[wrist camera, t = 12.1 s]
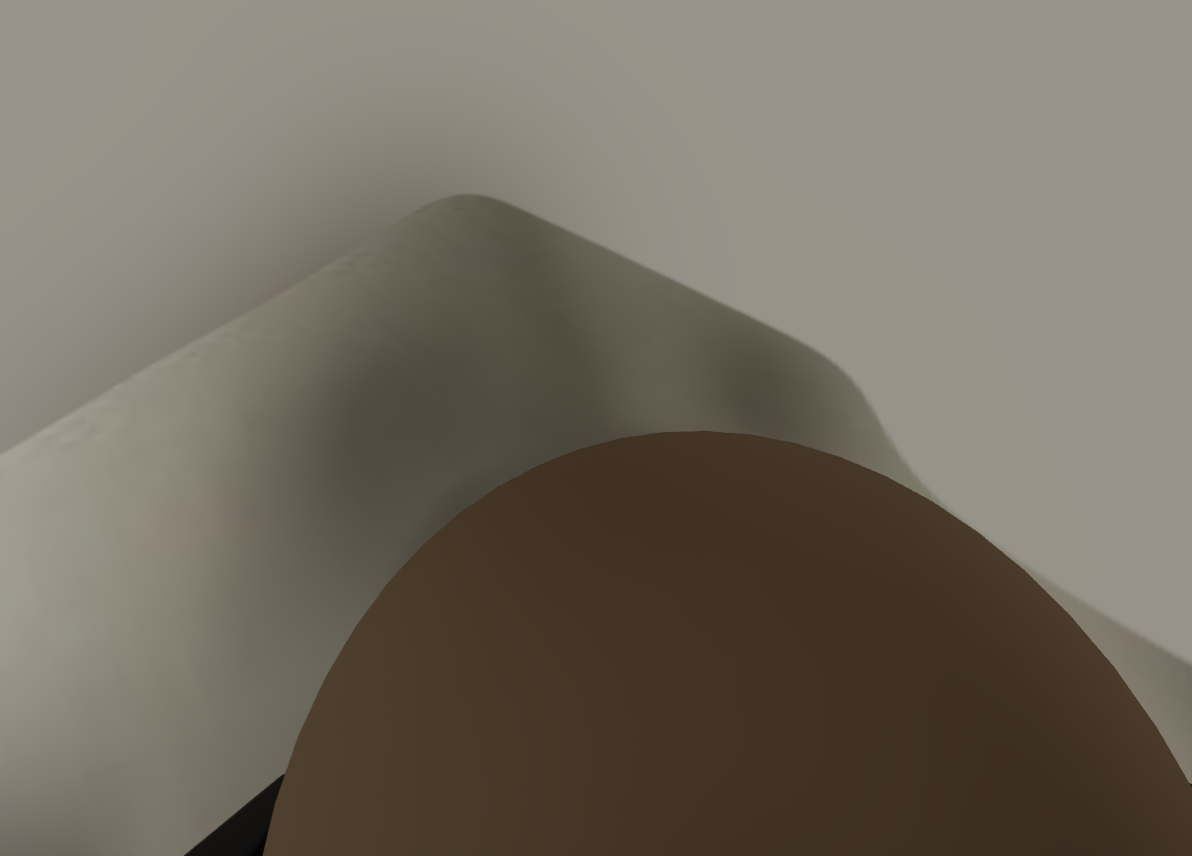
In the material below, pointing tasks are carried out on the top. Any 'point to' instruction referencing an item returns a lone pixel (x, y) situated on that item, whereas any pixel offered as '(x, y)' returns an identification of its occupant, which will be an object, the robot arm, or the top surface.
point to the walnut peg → (722, 680)
